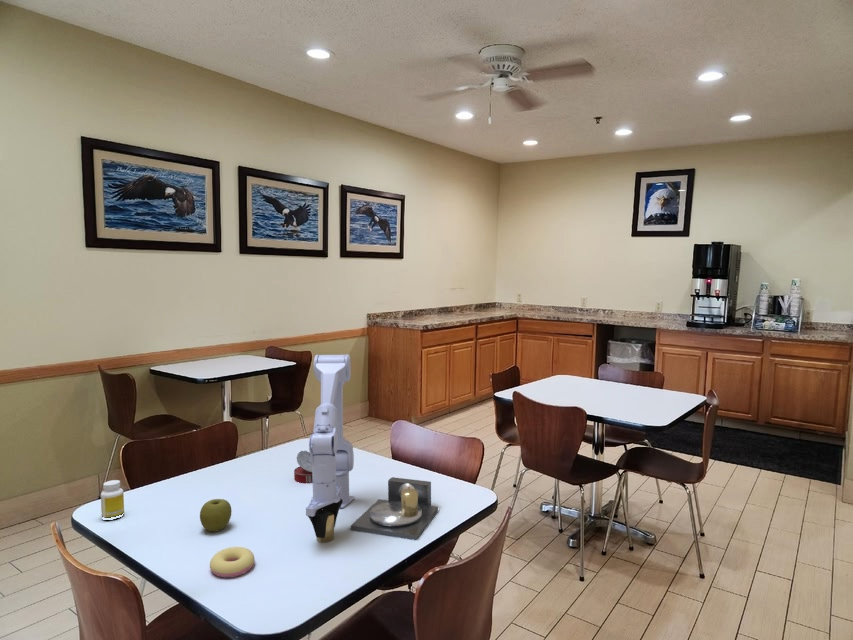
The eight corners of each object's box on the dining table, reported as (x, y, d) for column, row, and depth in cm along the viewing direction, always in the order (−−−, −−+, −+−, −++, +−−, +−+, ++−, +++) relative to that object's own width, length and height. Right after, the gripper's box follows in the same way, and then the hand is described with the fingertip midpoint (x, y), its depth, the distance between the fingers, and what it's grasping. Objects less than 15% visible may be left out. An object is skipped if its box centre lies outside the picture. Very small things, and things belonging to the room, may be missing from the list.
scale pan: (361, 522, 142) (360, 519, 142) (382, 501, 155) (382, 498, 155) (411, 529, 137) (411, 526, 137) (428, 507, 151) (428, 504, 151)
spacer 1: (313, 540, 135) (312, 517, 135) (322, 533, 139) (321, 510, 139) (329, 543, 134) (328, 519, 133) (337, 535, 138) (337, 512, 137)
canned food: (313, 486, 184) (325, 457, 187) (323, 492, 176) (335, 462, 178) (283, 475, 179) (295, 446, 182) (292, 482, 171) (304, 451, 173)
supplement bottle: (128, 515, 151) (127, 480, 150) (110, 523, 146) (108, 487, 145) (115, 511, 153) (114, 477, 153) (97, 519, 148) (95, 484, 148)
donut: (245, 563, 129) (204, 570, 124) (246, 543, 130) (205, 548, 124) (259, 574, 121) (216, 582, 116) (261, 553, 122) (217, 559, 116)
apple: (237, 523, 145) (237, 497, 145) (220, 537, 137) (219, 509, 137) (212, 520, 147) (211, 495, 146) (193, 534, 139) (192, 507, 139)
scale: (350, 530, 141) (350, 503, 140) (382, 499, 161) (382, 476, 160) (416, 540, 135) (415, 512, 134) (441, 506, 155) (441, 482, 154)
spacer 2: (399, 516, 143) (398, 493, 143) (404, 509, 148) (404, 487, 147) (415, 518, 142) (414, 495, 142) (419, 511, 146) (419, 489, 146)
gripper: (323, 492, 127) (325, 548, 128) (351, 471, 141) (352, 522, 142) (297, 488, 129) (299, 544, 130) (327, 468, 143) (328, 519, 144)
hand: (325, 532), depth 136 cm, fingers closed on spacer 1, 4 cm apart
